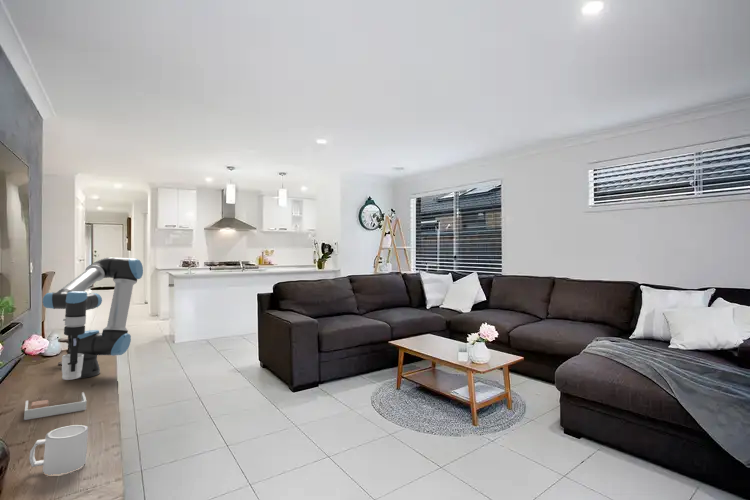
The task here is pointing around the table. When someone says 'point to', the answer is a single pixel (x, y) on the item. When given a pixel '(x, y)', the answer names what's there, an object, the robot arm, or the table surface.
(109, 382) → the table surface
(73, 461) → the mug
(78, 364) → the white cup
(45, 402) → the salmon pink block
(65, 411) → the frame
